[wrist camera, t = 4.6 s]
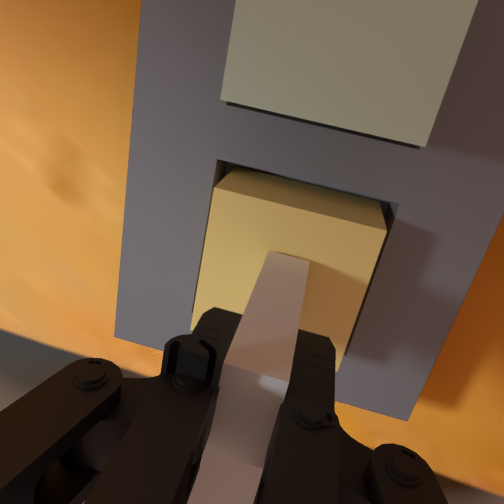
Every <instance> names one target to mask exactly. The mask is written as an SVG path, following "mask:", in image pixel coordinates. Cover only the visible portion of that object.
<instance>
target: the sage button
mask: <svg viewBox="0 0 504 504" xmlns="http://www.w3.org/2000/svg"><path fill="white" fill-rule="evenodd" d="M477 3H478V0H236V3H235V9H234V16H233V22H232V28H231V34H230V41H229V47H228V53H227V59H226V66H225V72H224V78H223V84H222V91H221V97H220V100H224V101H228V102H233V103H237V104H241V105H246V106H250V107H254V108H258V109H263V110H267V111H271V112H276V113H280V114H284V115H289V116H293V117H297V118H302V119H306V120H310V121H315V122H319V123H323V124H327V125H332V126H336V127H340V128H345V129H349V130H353V131H358V132H362V133H366V134H371V135H375V136H379V137H383V138H388V139H392V140H396V141H401V142H405V143H409V144H414V145H418V146H422V147H426V144H427V141H428V138H429V136H430V133H431V130H432V127H433V125H434V122H435V119H436V116H437V113H438V111H439V108H440V105H441V102H442V100H443V97H444V94H445V91H446V89H447V86H448V83H449V80H450V77H451V75H452V72H453V69H454V66H455V64H456V61H457V58H458V55H459V53H460V50H461V47H462V44H463V41H464V39H465V36H466V33H467V30H468V28H469V25H470V22H471V19H472V17H473V14H474V11H475V8H476V5H477Z"/></svg>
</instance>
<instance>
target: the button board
mask: <svg viewBox="0 0 504 504" xmlns="http://www.w3.org/2000/svg"><path fill="white" fill-rule="evenodd" d="M235 3H236V0H142V3H141V15H140V28H139V40H138V52H137V64H136V76H135V89H134V101H133V113H132V125H131V137H130V150H129V162H128V174H127V186H126V198H125V211H124V223H123V235H122V247H121V259H120V272H119V284H118V296H117V308H116V320H115V333H114V337H116V338H120V339H123V340H127V341H130V342H134V343H137V344H141V345H144V346H147V347H151V348H154V349H158V350H161V351H164V346H165V344H166V343H167V342H168V341H169V340H170V339H171V338H173V337H176V336H179V335H185V334H192V332H193V331H192V330H190V328H191V322H192V316H193V310H194V304H195V298H196V292H197V286H198V280H199V274H200V268H201V262H202V256H203V250H204V244H205V238H206V232H207V226H208V220H209V214H210V208H211V202H212V197H213V191H214V187H215V186H216V185H217V184H218V183H219V182H220V181H221V180H222V179H223V178H224V177H226V176H227V175H228V174H229V173H230V172H231V171H232V170H233V169H234V168H235V167H236V166H237V167H241V168H245V169H249V170H253V171H257V172H261V173H265V174H269V175H273V176H277V177H281V178H285V179H290V180H294V181H298V182H302V183H306V184H310V185H314V186H318V187H322V188H326V189H330V190H334V191H338V192H343V193H347V194H351V195H355V196H359V197H363V198H367V199H371V200H375V201H379V203H380V206H381V210H382V214H383V217H384V221H385V225H386V228H387V233H386V235H385V238H384V241H383V244H382V247H381V250H380V253H379V255H378V258H377V261H376V264H375V267H374V270H373V272H372V275H371V278H370V281H369V284H368V287H367V289H366V292H365V295H364V298H363V301H362V304H361V306H360V309H359V312H358V315H357V318H356V321H355V323H354V326H353V329H352V332H351V335H350V338H349V340H348V343H347V346H346V349H345V352H344V355H343V357H342V360H341V363H340V366H339V369H338V372H337V371H335V401H338V402H341V403H345V404H348V405H352V406H355V407H359V408H362V409H366V410H369V411H372V412H376V413H379V414H383V415H386V416H390V417H393V418H397V419H400V420H404V421H408V419H409V417H410V415H411V412H412V410H413V408H414V406H415V404H416V402H417V399H418V397H419V395H420V393H421V391H422V389H423V387H424V384H425V382H426V380H427V378H428V376H429V374H430V371H431V369H432V367H433V365H434V363H435V361H436V359H437V356H438V354H439V352H440V350H441V348H442V346H443V343H444V341H445V339H446V337H447V335H448V333H449V331H450V328H451V326H452V324H453V322H454V320H455V318H456V315H457V313H458V311H459V309H460V307H461V305H462V303H463V300H464V298H465V296H466V294H467V292H468V290H469V287H470V285H471V283H472V281H473V279H474V277H475V275H476V272H477V270H478V268H479V266H480V264H481V262H482V259H483V257H484V255H485V253H486V251H487V249H488V247H489V244H490V242H491V240H492V238H493V236H494V234H495V231H496V229H497V227H498V225H499V223H500V221H501V218H502V216H503V214H504V0H478V3H477V5H476V8H475V11H474V14H473V17H472V19H471V22H470V25H469V28H468V30H467V33H466V36H465V39H464V41H463V44H462V47H461V50H460V53H459V55H458V58H457V61H456V64H455V66H454V69H453V72H452V75H451V77H450V80H449V83H448V86H447V89H446V91H445V94H444V97H443V100H442V102H441V105H440V108H439V111H438V113H437V116H436V119H435V122H434V125H433V127H432V130H431V133H430V136H429V138H428V141H427V144H426V147H422V146H418V145H414V144H409V143H405V142H401V141H396V140H392V139H388V138H383V137H379V136H375V135H371V134H366V133H362V132H358V131H353V130H349V129H345V128H340V127H336V126H332V125H327V124H323V123H319V122H315V121H310V120H306V119H302V118H297V117H293V116H289V115H284V114H280V113H276V112H271V111H267V110H263V109H258V108H254V107H250V106H246V105H241V104H237V103H233V102H228V101H224V100H220V97H221V91H222V84H223V78H224V72H225V66H226V59H227V53H228V47H229V41H230V34H231V28H232V22H233V16H234V9H235Z"/></svg>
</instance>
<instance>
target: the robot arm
mask: <svg viewBox="0 0 504 504" xmlns="http://www.w3.org/2000/svg"><path fill="white" fill-rule="evenodd" d="M309 264H310V261H307V260H303V259H299V258H295V257H291V256H288V255H284V254H280V253H276V252H272V251H269V252H268V254H267V256H266V259H265V261H264V264H263V266H262V269H261V271H260V274H259V276H258V279H257V281H256V284H255V286H254V289H253V291H252V294H251V296H250V298H249V301H248V303H247V306H246V308H245V311H244V313H243V315H242V314H239V313H235V312H232V311H228V310H224V309H221V308H217V307H213V308H211V309H210V310H208V311H206V312H205V313H203V314H202V316H201V318H200V319H199V321H198V323H197V325H196V326H195V328H194V330H193V332H192V334H185V335H179V336H176V337H173V338H171V339H170V340H169V341H168V342H167V343H166V344H165V346H164V353H163V360H162V367H161V374H160V375H158V376H155V377H150V378H122V377H123V376H122V372H121V370H120V368H119V367H118V366H117V365H115V364H114V363H113V362H111V361H108V360H105V359H102V358H86V359H81V360H77V361H75V362H73V363H71V364H69V365H67V366H66V367H64V368H63V369H62V370H60V371H59V372H57V373H56V374H54V375H53V376H51V377H50V378H48V379H47V380H45V381H44V382H43V383H41V384H40V385H38V386H37V387H35V388H34V389H33V390H31V391H30V392H28V393H27V394H25V395H24V396H22V397H21V398H20V399H18V400H17V401H15V402H14V403H12V404H11V405H9V406H8V407H6V408H5V409H3V410H2V411H1V412H0V504H82V503H83V502H84V501H85V502H84V504H187V502H188V499H189V496H190V494H191V491H192V488H193V485H194V482H195V480H196V477H197V474H198V471H199V467H200V462H201V458H202V454H203V451H204V448H205V451H207V452H210V453H214V454H217V455H220V456H224V457H227V458H230V459H233V460H236V461H240V462H243V463H246V464H249V465H252V466H256V467H259V468H263V473H262V477H261V479H260V483H259V486H258V490H257V493H256V496H255V500H254V503H253V504H448V502H447V500H446V498H445V496H444V493H443V491H442V489H441V487H440V485H439V483H438V481H437V479H436V477H435V474H434V473H433V471H432V470H431V468H430V467H429V465H428V464H427V462H426V461H425V460H423V459H422V458H421V457H420V456H419V455H418V454H417V453H415V452H413V451H412V450H410V449H408V448H406V447H404V446H401V445H397V444H393V443H392V444H382V445H380V446H378V447H377V448H375V450H374V451H373V450H371V449H370V448H368V447H366V446H364V445H363V444H361V443H359V442H358V441H356V440H355V439H353V438H352V437H350V436H349V435H348V434H347V433H346V432H345V431H344V430H343V429H342V427H341V426H340V424H339V419H338V416H337V415H336V414H335V411H334V404H335V366H336V364H335V362H336V349H335V347H334V345H333V343H332V341H331V340H330V338H329V337H326V336H323V335H319V334H315V333H312V332H308V331H305V330H301V329H298V328H299V322H300V316H301V311H302V305H303V299H304V293H305V287H306V281H307V276H308V270H309Z"/></svg>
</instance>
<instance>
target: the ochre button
mask: <svg viewBox="0 0 504 504" xmlns="http://www.w3.org/2000/svg"><path fill="white" fill-rule="evenodd" d="M386 233H387V228H386V225H385V221H384V217H383V214H382V210H381V206H380V203H379V201H375V200H371V199H367V198H363V197H359V196H355V195H351V194H347V193H343V192H338V191H334V190H330V189H326V188H322V187H318V186H314V185H310V184H306V183H302V182H298V181H294V180H290V179H285V178H281V177H277V176H273V175H269V174H265V173H261V172H257V171H253V170H249V169H245V168H241V167H237V166H236V167H235V168H234V169H233V170H232V171H231V172H230V173H229V174H228V175H227V176H226V177H224V178H223V179H222V180H221V181H220V182H219V183H218V184H217V185H216V186H215V187H214V191H213V197H212V202H211V208H210V214H209V220H208V226H207V232H206V238H205V244H204V250H203V256H202V262H201V268H200V274H199V280H198V286H197V292H196V298H195V304H194V310H193V316H192V322H191V328H190V330H192V331H193V330H194V328H195V326H196V325H197V323H198V321H199V319H200V318H201V316H202V314H203V313H205V312H206V311H208V310H210V309H211V308H213V307H217V308H221V309H224V310H228V311H232V312H235V313H239V314H242V315H243V313H244V311H245V308H246V306H247V303H248V301H249V298H250V296H251V294H252V291H253V289H254V286H255V284H256V281H257V279H258V276H259V274H260V271H261V269H262V266H263V264H264V261H265V259H266V256H267V254H268V252H269V251H272V252H276V253H280V254H284V255H288V256H291V257H295V258H299V259H303V260H307V261H310V264H309V270H308V276H307V281H306V287H305V293H304V299H303V305H302V311H301V316H300V322H299V328H298V329H301V330H305V331H308V332H312V333H315V334H319V335H323V336H326V337H329V338H330V340H331V341H332V343H333V345H334V347H335V349H336V362H335V364H336V366H335V371H337V372H338V369H339V366H340V363H341V360H342V357H343V355H344V352H345V349H346V346H347V343H348V340H349V338H350V335H351V332H352V329H353V326H354V323H355V321H356V318H357V315H358V312H359V309H360V306H361V304H362V301H363V298H364V295H365V292H366V289H367V287H368V284H369V281H370V278H371V275H372V272H373V270H374V267H375V264H376V261H377V258H378V255H379V253H380V250H381V247H382V244H383V241H384V238H385V235H386Z"/></svg>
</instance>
